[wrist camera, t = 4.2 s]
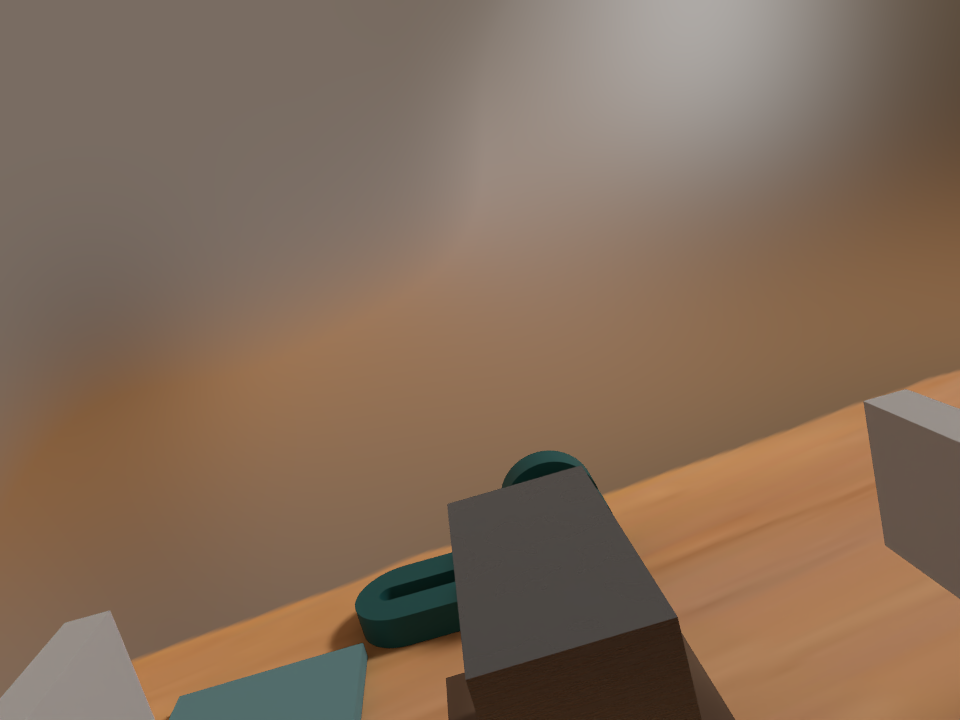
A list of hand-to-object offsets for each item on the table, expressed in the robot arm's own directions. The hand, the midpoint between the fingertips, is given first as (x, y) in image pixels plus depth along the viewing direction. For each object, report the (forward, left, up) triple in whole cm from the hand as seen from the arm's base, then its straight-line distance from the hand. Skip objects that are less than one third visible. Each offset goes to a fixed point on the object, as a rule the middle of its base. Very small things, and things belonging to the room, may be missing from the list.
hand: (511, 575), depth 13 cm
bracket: (-15, -31, -20) cm, 40 cm away
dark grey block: (-7, -10, -20) cm, 24 cm away
